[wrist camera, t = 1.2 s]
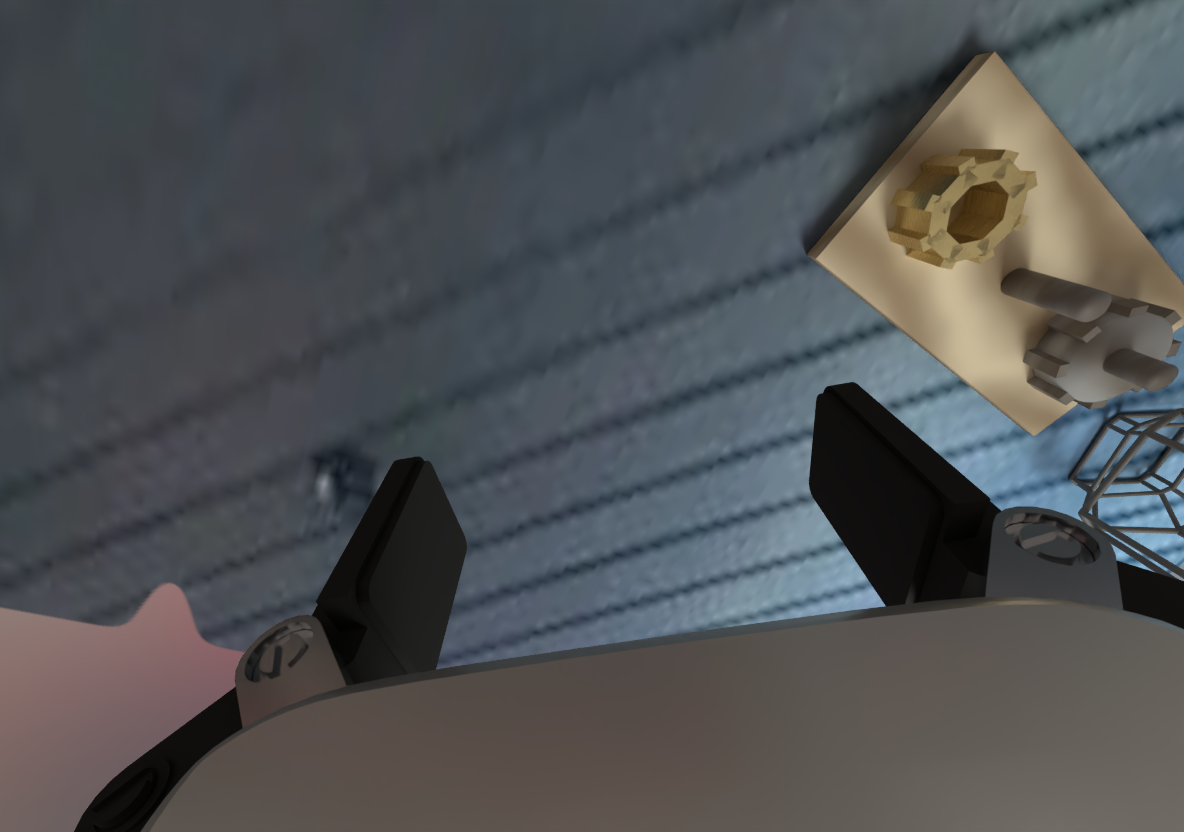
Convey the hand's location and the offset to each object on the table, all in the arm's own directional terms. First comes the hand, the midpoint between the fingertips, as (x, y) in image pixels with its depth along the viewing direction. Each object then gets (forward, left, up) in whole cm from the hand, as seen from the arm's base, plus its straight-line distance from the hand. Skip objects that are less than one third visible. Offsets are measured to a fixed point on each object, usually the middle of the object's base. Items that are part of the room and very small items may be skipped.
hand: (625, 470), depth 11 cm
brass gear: (-15, +18, -24) cm, 34 cm away
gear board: (-15, +28, -26) cm, 41 cm away
